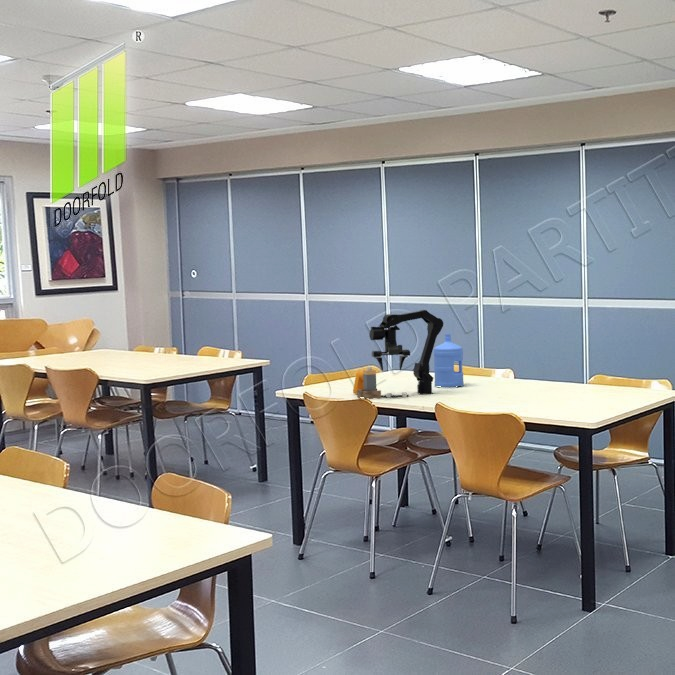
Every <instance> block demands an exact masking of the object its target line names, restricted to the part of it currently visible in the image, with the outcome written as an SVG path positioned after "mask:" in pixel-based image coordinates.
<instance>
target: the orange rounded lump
mask: <svg viewBox="0 0 675 675" xmlns="http://www.w3.org/2000/svg"><path fill="white" fill-rule="evenodd" d="M353 384H354V385H353V390H352V393H353V394H356V395H357V389H364V386H363V370H358V371H357V372H356V374H355V378H354V383H353Z"/></svg>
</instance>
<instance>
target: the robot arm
mask: <svg viewBox="0 0 675 675" xmlns="http://www.w3.org/2000/svg"><path fill="white" fill-rule="evenodd" d="M418 319H422V321H424V322H425V323H426V324H427V328H426V329H427V330H426V331H427V336H426V339H425V342H424V347H423V350H422V352H421V357H420V359H419V361H418V362H415V363H414V367H413V369H412V371H413V372H412V373H413V376H414V378H416V381H417V386H416V388H417V394H419V393H420V394H419V395H429V393H430V395H431V394H434V392H433V381H434V377H433V376H432V375H431V374H430V368H431V367H430V360H431V358H432V354H433V352H434V348H435V343H436V339H437V337H438V335H439V334H440V333H441V331H442V329H443V327H444V321H443V319H441V317H436V315H434V314H432V313H431V312H430V311H428V310H426V309H421V310H417V311H411V312H407V313H406V312H405V313H401V314H397V313H395V314H394V313H393V314H392V313H390V314H389V313H388V314H387V313H386V314H385V315H384V316H383V317H382V321H381V323H380V324H379V326H371V327H370V331H369V333H368V334H369V335H368V336H369V339H370V340H371V341H382V340H384V351H381V350H372V351H371V357H373V358H374V359H376V361H377V362H378V365H379V367H380V370H381V372H383V371H384V366H383V356H399V363H398V364H399V366H398V367H399V371H401V370H402V368H403V366H404V365H403V364H404V361H405V359H406V358H408V357H409V356H411V351H410V350H409V349H407V348H406V349H405V348H403V345H402V344H398V342H397V331H400V330H401V328H400V327H399V326H398V325H399V324H402V323H403V322H407V321H414V320H418Z"/></svg>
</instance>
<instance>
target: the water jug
mask: <svg viewBox="0 0 675 675" xmlns="http://www.w3.org/2000/svg"><path fill="white" fill-rule="evenodd" d="M451 335H452V334H450V333H449V334H444V342H442V343H441V344H439V345H437V346H434V347H433V359H434V360H433V363H434V364H433V365H434V366H433V370H434V372H433V373H434V387H436V386H441V387H456V386H462V387H463V386H464V385H465V384H464V382H465V381H464V371H463V358H464V350H463V347H462V346H461V345H458V344H456V343H454V342H452V338H451V337H452V336H451ZM455 362H458V371H455V365H454V364H455ZM456 388H457V387H456Z"/></svg>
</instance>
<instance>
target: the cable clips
mask: <svg viewBox="0 0 675 675" xmlns="http://www.w3.org/2000/svg"><path fill="white" fill-rule="evenodd" d="M385 394H386V397H391V395H392V392H387V393H385ZM401 395H402V396H403V397H402V398H408V397H407V395H408V394H407V392H401ZM386 397H385V398H386ZM391 398H392V397H391Z"/></svg>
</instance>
